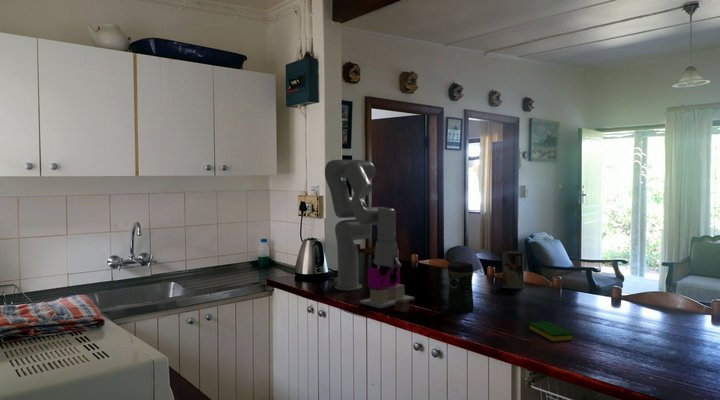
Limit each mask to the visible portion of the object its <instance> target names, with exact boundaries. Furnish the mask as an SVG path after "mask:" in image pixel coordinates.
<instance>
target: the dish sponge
mask: <svg viewBox="0 0 720 400" xmlns="http://www.w3.org/2000/svg"><path fill="white" fill-rule="evenodd" d="M529 330H530V331H533V332H534V333H536V334H538V335H540V336H542V337H544V338H546V339H547V340H549V341H551V342H559V341H560V342H561V341H570V340H571V341H572V340H573V333H572V332H570V331H569V330H566V329H564V328H563V327H560V326H558V325H556V324H554V323H552V322H549V321H538V322H529Z"/></svg>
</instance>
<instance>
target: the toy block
mask: <svg viewBox="0 0 720 400" xmlns="http://www.w3.org/2000/svg"><path fill="white" fill-rule="evenodd" d="M388 268H389V267H388ZM393 269H394V268H393ZM390 273H391V271H390V268H389V269H388V271H387V273H386V274H384V276H381V275H380V273H379V269H377V268H376V267H375V268H374V267H371V268H367V288H369V289H372V288H374V289H382V288H386V289H388V287H392V286H396V285H397V284H401V267H400V268H399V270H398V272H397V273H396V282H395V283H390Z"/></svg>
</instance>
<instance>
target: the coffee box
mask: <svg viewBox="0 0 720 400" xmlns="http://www.w3.org/2000/svg"><path fill="white" fill-rule="evenodd" d="M501 256H502V258H501V259H502V288H503V289H519V290H524V288H525V280H524V279H525V277H524V276H525V272H524V269H525V268H524V263H525V262H524V251H508V250H507V251H506V250H505V251H504V250H503V252H502V255H501Z"/></svg>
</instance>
